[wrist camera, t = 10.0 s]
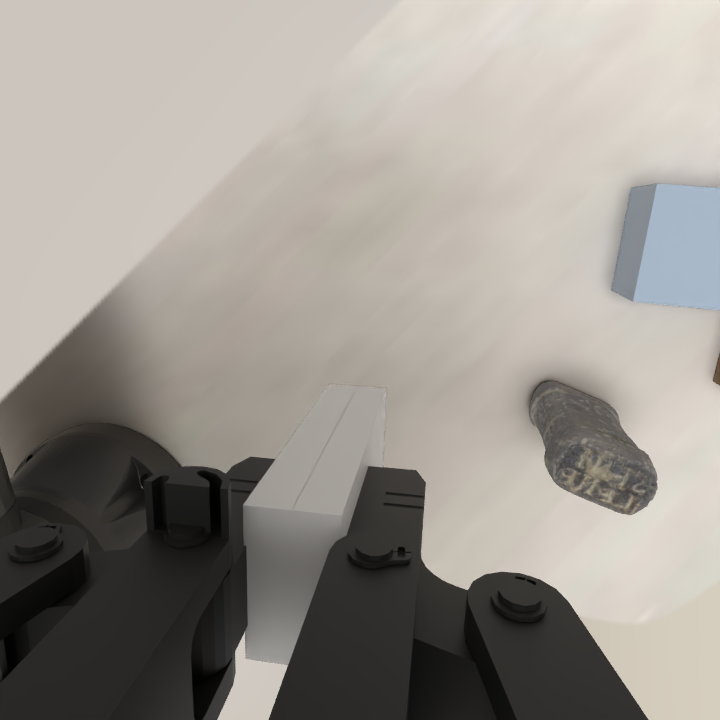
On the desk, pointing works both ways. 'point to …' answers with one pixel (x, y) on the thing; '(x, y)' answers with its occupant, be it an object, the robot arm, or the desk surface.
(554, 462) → the stone
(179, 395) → the desk surface
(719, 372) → the board
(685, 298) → the block
